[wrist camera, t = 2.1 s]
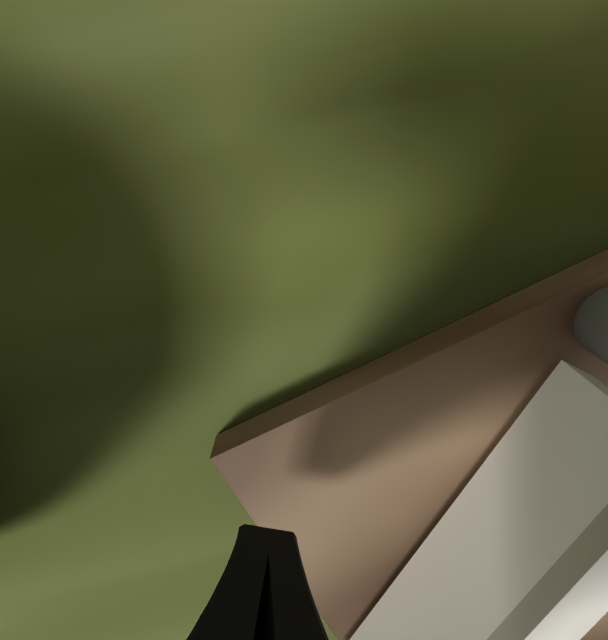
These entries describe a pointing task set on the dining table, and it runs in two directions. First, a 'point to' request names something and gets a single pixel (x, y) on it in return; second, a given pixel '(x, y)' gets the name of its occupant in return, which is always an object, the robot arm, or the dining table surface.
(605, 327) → the white bar
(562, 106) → the dining table surface
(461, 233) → the dining table surface
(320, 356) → the dining table surface
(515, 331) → the board
